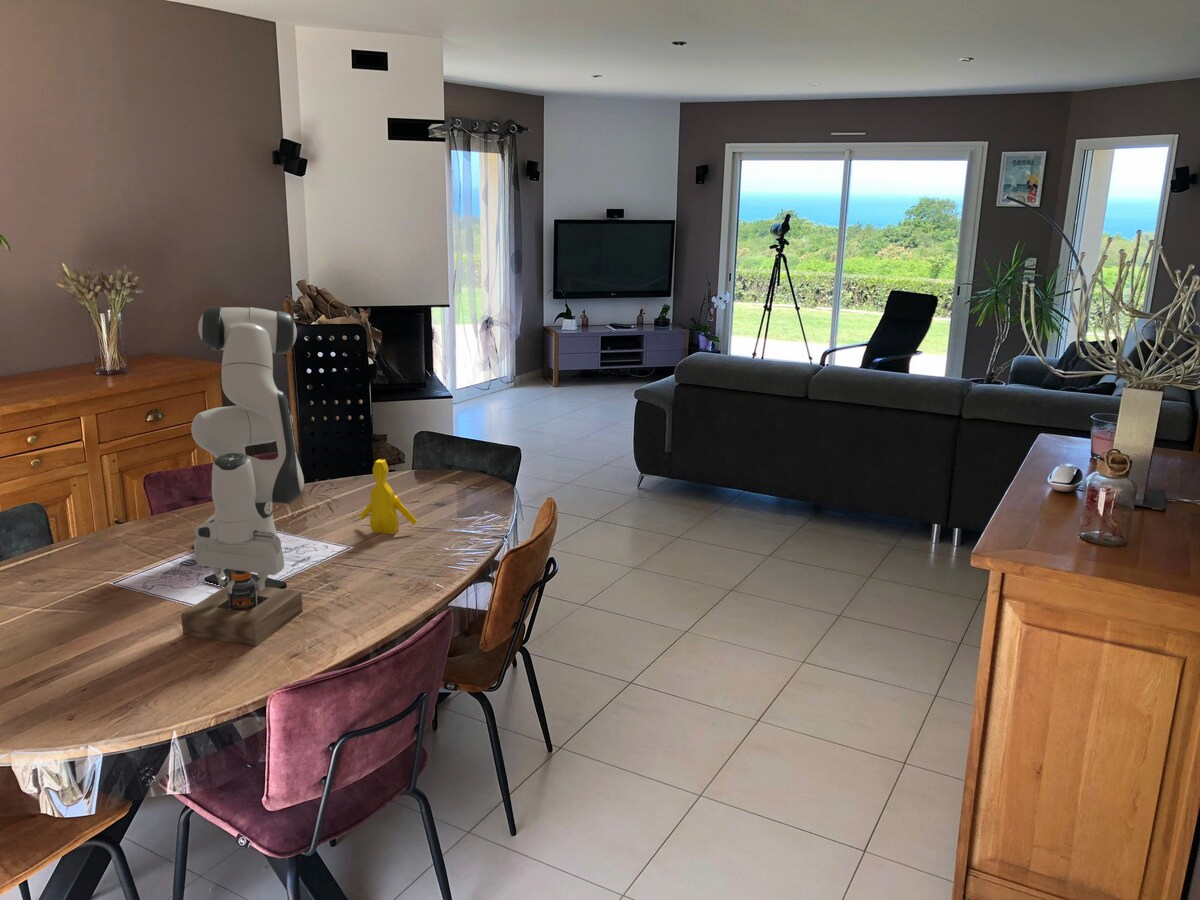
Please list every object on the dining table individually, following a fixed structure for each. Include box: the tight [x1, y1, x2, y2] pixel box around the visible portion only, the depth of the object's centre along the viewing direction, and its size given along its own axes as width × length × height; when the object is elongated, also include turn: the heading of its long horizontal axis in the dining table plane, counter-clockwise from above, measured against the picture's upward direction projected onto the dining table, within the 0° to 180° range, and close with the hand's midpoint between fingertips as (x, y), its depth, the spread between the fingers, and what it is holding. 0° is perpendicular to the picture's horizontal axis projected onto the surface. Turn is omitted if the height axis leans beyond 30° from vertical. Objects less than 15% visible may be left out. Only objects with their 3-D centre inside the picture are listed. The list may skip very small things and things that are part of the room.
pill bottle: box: [228, 570, 257, 612], centre depth 204 cm, size 6×6×11 cm
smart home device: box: [203, 568, 288, 589], centre depth 226 cm, size 8×2×20 cm
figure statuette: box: [359, 459, 418, 535], centre depth 261 cm, size 18×8×22 cm, turn 78°
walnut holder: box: [180, 585, 303, 647], centre depth 205 cm, size 18×18×5 cm
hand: (241, 587), depth 203 cm, fingers open, 8 cm apart
